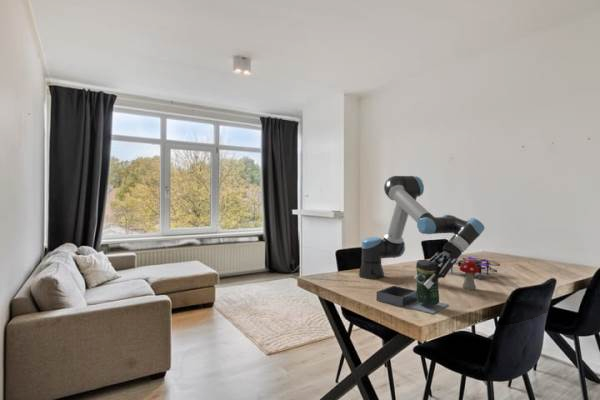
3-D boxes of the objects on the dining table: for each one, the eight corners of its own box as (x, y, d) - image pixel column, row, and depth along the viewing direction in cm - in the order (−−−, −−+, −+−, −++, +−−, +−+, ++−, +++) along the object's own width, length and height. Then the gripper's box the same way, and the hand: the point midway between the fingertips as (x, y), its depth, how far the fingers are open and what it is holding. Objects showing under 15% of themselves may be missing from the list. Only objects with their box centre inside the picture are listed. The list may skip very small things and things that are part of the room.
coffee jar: (442, 304, 143) (442, 262, 143) (427, 306, 141) (427, 263, 140) (427, 297, 152) (427, 257, 152) (413, 299, 150) (413, 259, 149)
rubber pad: (406, 307, 145) (406, 306, 145) (422, 299, 156) (422, 298, 156) (433, 314, 136) (433, 313, 136) (448, 305, 148) (448, 304, 148)
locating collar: (376, 300, 155) (376, 291, 155) (393, 293, 166) (393, 285, 166) (402, 307, 145) (402, 298, 145) (418, 299, 156) (418, 291, 156)
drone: (431, 256, 215) (458, 252, 229) (431, 271, 215) (458, 266, 229) (493, 267, 181) (520, 262, 195) (493, 285, 181) (520, 278, 195)
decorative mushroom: (455, 287, 177) (455, 259, 177) (467, 285, 180) (467, 258, 180) (471, 292, 168) (471, 262, 168) (483, 290, 171) (483, 261, 171)
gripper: (475, 257, 136) (438, 297, 135) (447, 249, 158) (415, 282, 157) (463, 245, 136) (426, 284, 135) (437, 238, 158) (405, 272, 157)
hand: (420, 283), depth 146 cm, fingers closed on coffee jar, 9 cm apart
